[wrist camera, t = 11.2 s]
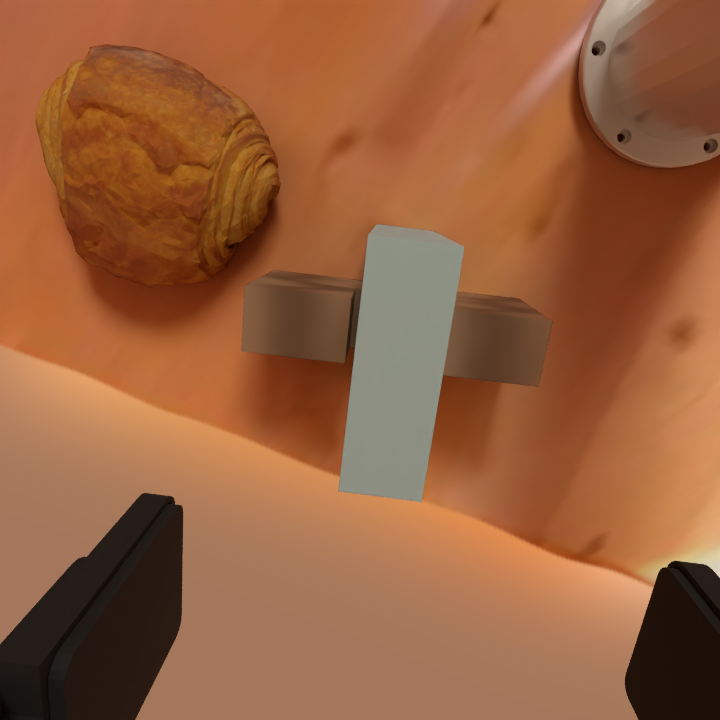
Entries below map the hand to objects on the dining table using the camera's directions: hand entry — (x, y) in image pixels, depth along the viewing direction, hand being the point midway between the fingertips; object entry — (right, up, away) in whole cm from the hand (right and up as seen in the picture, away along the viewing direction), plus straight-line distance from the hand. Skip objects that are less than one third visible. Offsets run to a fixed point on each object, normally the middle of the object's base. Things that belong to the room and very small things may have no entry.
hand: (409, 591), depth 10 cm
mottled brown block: (+1, +8, +29) cm, 30 cm away
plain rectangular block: (+2, +8, +28) cm, 30 cm away
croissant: (-14, +17, +27) cm, 35 cm away
